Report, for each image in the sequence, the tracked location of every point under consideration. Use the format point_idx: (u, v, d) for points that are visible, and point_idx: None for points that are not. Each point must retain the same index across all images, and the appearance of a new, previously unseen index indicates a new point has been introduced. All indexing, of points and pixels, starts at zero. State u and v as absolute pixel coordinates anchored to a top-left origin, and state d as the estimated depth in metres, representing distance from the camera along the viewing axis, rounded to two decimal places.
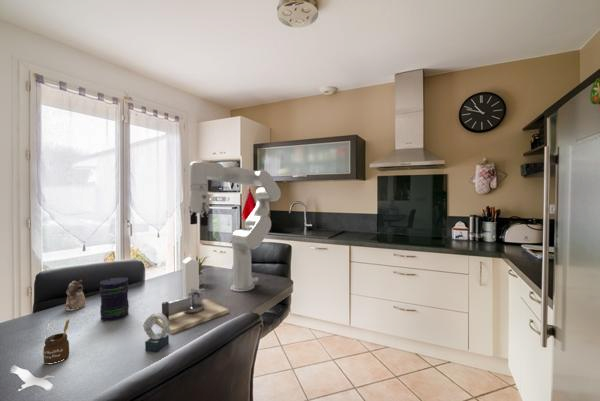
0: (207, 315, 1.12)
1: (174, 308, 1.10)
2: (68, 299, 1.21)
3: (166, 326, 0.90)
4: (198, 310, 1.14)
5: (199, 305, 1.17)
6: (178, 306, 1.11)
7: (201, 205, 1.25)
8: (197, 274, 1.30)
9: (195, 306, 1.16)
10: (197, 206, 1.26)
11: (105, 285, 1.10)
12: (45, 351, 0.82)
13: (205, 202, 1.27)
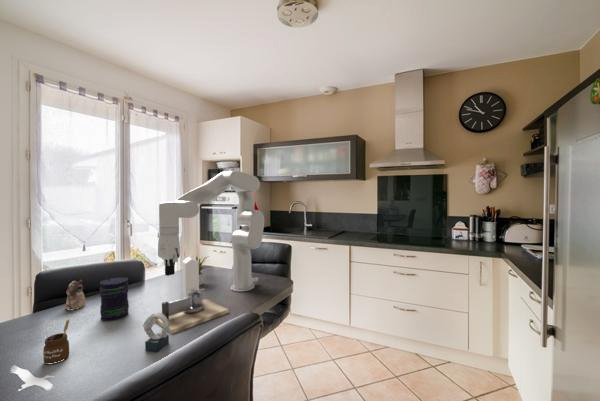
0: (207, 315, 1.12)
1: (174, 308, 1.10)
2: (68, 299, 1.21)
3: (166, 326, 0.90)
4: (198, 310, 1.14)
5: (199, 305, 1.17)
6: (178, 306, 1.11)
7: None
8: (197, 274, 1.30)
9: (195, 306, 1.16)
10: None
11: (105, 285, 1.10)
12: (45, 351, 0.82)
13: None
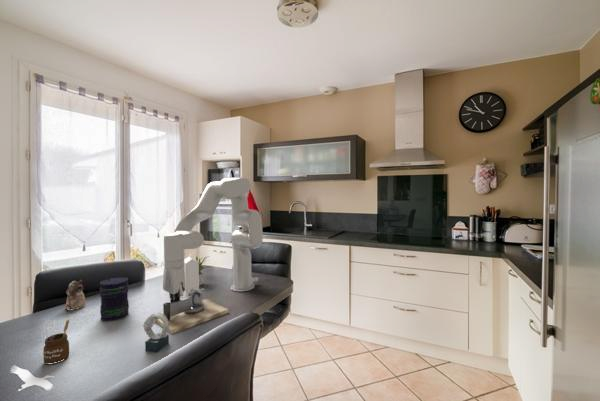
0: (207, 315, 1.12)
1: (175, 309, 1.10)
2: (68, 299, 1.21)
3: (166, 326, 0.90)
4: (199, 309, 1.14)
5: (200, 305, 1.17)
6: (179, 306, 1.11)
7: None
8: (197, 274, 1.30)
9: (196, 306, 1.16)
10: None
11: (105, 285, 1.10)
12: (45, 351, 0.82)
13: None
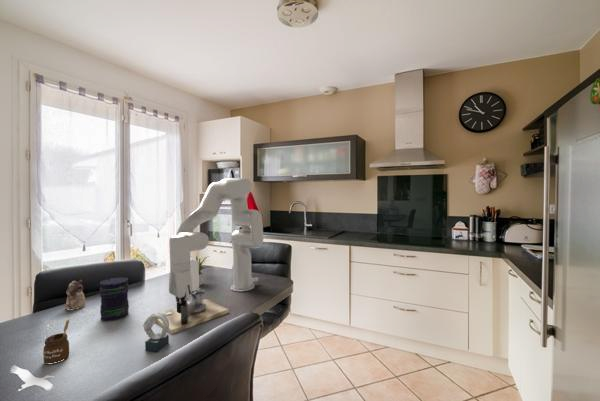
0: (207, 315, 1.12)
1: (189, 310, 1.08)
2: (68, 299, 1.21)
3: (166, 326, 0.90)
4: (205, 307, 1.17)
5: (202, 304, 1.18)
6: (191, 308, 1.10)
7: None
8: (197, 274, 1.30)
9: (199, 305, 1.16)
10: None
11: (105, 285, 1.10)
12: (45, 351, 0.82)
13: None
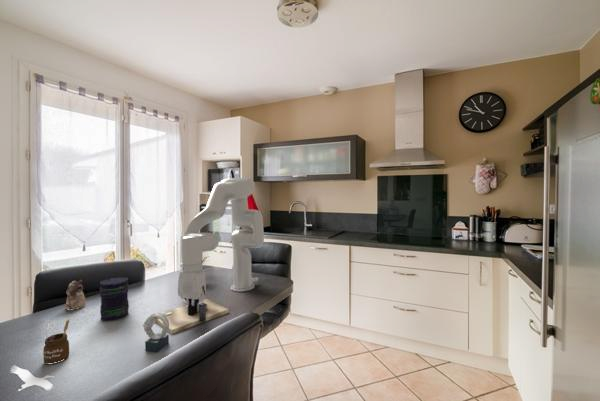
0: (207, 315, 1.12)
1: None
2: (68, 299, 1.21)
3: (166, 326, 0.90)
4: None
5: None
6: None
7: None
8: None
9: None
10: None
11: (105, 285, 1.10)
12: (45, 351, 0.82)
13: None
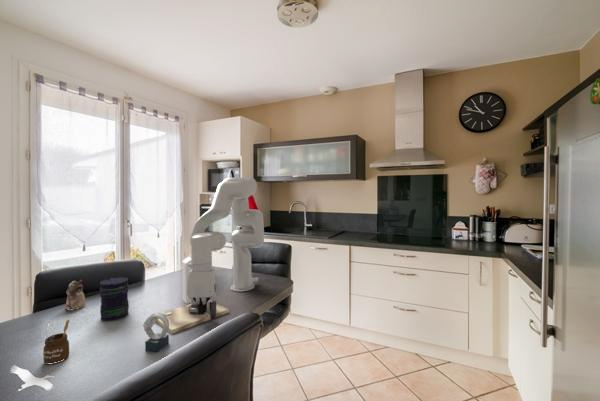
0: (207, 315, 1.12)
1: None
2: (68, 299, 1.21)
3: (166, 326, 0.90)
4: None
5: None
6: None
7: None
8: None
9: None
10: None
11: (105, 285, 1.10)
12: (45, 351, 0.82)
13: None
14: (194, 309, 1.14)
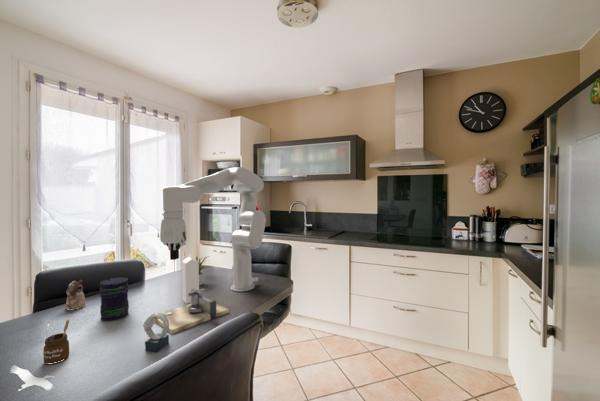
0: (207, 315, 1.12)
1: None
2: (68, 299, 1.21)
3: (166, 326, 0.90)
4: None
5: None
6: None
7: None
8: (197, 274, 1.30)
9: None
10: None
11: (105, 285, 1.10)
12: (45, 351, 0.82)
13: None
14: (194, 309, 1.14)
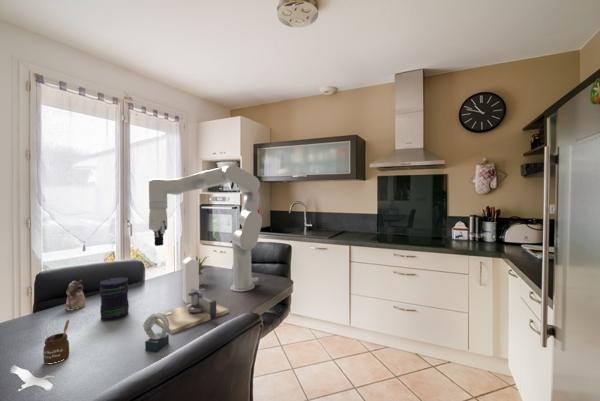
0: (207, 315, 1.12)
1: None
2: (68, 299, 1.21)
3: (166, 326, 0.90)
4: None
5: None
6: None
7: None
8: (197, 274, 1.30)
9: None
10: None
11: (105, 285, 1.10)
12: (45, 351, 0.82)
13: None
14: (194, 309, 1.14)
